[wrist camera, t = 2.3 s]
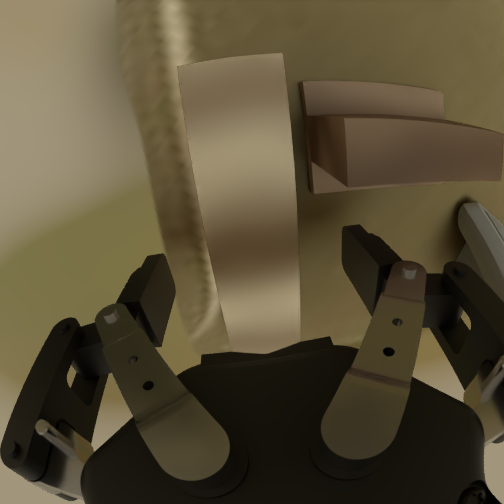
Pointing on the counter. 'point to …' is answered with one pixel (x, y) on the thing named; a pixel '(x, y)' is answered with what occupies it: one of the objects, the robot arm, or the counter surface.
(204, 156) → the beige long bar
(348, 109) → the walnut ridge
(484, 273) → the digital clock
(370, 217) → the counter surface
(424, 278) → the robot arm
